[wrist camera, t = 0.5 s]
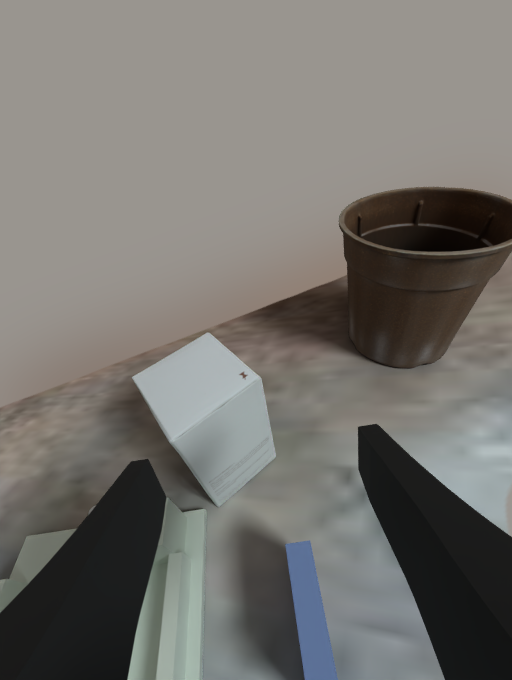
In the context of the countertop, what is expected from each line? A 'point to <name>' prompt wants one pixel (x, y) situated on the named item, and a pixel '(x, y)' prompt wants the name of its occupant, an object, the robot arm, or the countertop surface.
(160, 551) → the dish rack
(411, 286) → the plant pot
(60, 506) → the countertop surface
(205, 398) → the supplement box
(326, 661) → the slate blue tile
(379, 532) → the countertop surface
